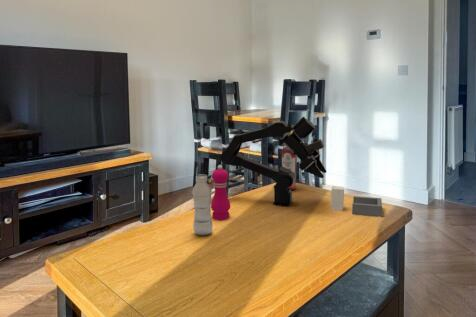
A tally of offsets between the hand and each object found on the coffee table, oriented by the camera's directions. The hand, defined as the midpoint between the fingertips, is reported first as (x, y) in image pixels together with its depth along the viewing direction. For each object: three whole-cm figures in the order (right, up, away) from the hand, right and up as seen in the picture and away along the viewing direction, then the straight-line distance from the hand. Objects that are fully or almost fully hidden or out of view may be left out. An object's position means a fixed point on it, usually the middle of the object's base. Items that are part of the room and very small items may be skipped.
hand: (324, 174), depth 155 cm
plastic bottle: (-46, -19, -24) cm, 55 cm away
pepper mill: (-41, -16, -8) cm, 44 cm away
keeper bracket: (+16, -14, -3) cm, 21 cm away
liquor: (-10, -8, +29) cm, 32 cm away
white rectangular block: (+5, -13, +1) cm, 14 cm away
